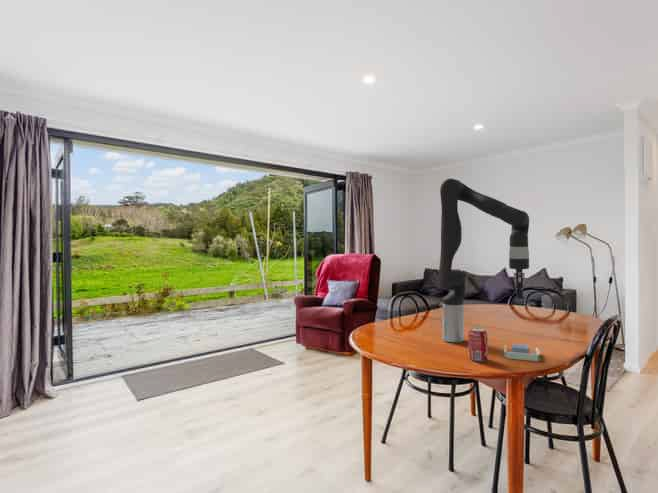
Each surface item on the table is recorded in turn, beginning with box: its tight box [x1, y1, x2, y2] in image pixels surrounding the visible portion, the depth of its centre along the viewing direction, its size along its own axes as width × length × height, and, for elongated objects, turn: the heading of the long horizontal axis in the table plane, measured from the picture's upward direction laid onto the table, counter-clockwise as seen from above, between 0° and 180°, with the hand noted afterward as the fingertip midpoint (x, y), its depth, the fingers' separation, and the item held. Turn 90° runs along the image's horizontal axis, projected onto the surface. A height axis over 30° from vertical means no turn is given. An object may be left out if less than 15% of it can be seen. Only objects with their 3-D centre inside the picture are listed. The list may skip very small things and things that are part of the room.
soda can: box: [467, 327, 489, 363], centre depth 149 cm, size 7×7×12 cm
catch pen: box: [503, 344, 541, 362], centre depth 153 cm, size 13×11×2 cm
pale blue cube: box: [511, 343, 531, 354], centre depth 153 cm, size 6×6×4 cm
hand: (519, 298), depth 161 cm, fingers closed
